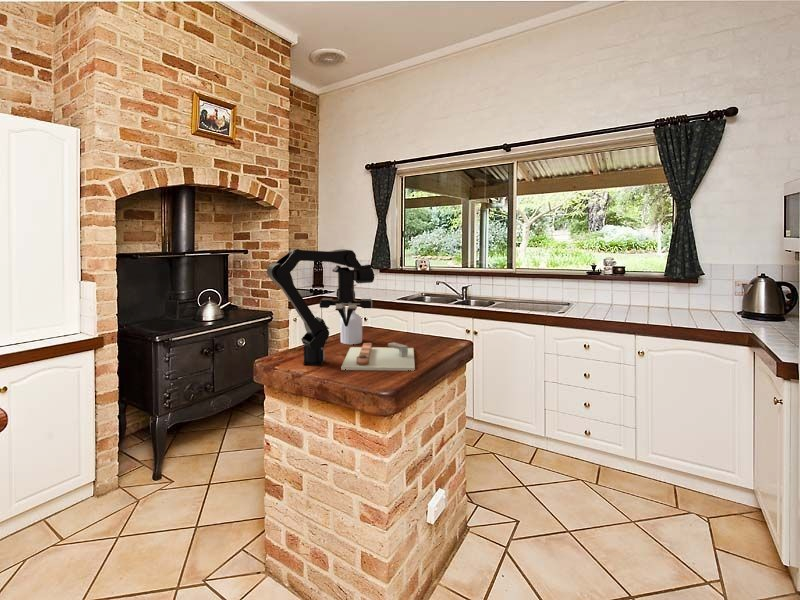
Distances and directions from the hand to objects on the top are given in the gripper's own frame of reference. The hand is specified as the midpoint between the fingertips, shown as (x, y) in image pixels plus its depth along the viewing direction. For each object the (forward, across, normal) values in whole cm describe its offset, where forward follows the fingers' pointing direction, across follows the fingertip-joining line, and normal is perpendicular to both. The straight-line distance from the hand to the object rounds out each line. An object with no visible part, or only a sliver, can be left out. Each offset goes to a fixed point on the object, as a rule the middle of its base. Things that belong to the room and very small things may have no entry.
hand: (346, 326), depth 166 cm
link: (+11, -7, +2) cm, 13 cm away
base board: (+12, -12, +2) cm, 17 cm away
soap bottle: (+12, +1, -23) cm, 26 cm away
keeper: (+12, -19, -1) cm, 22 cm away
